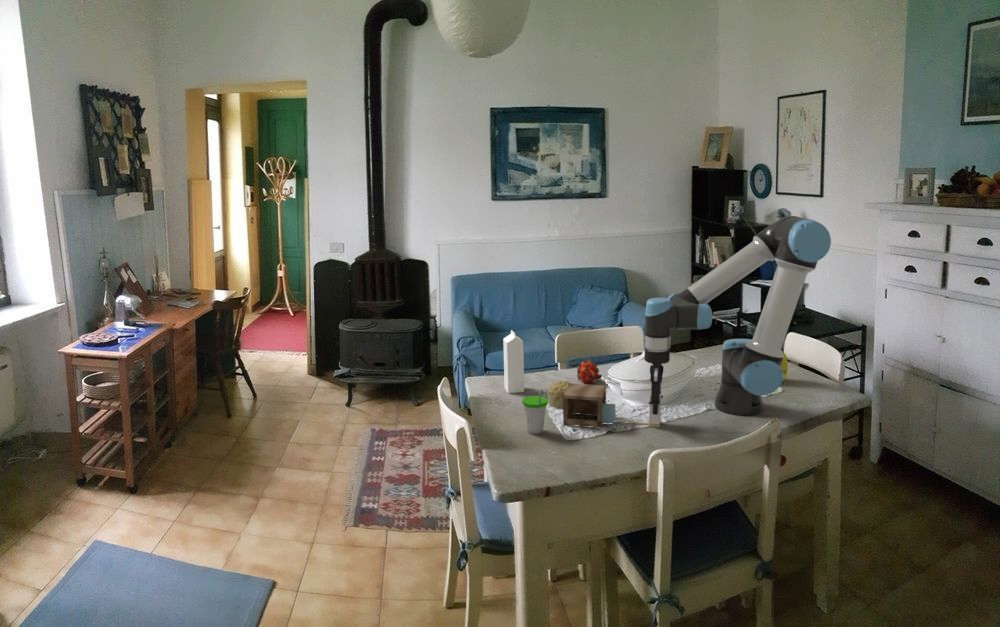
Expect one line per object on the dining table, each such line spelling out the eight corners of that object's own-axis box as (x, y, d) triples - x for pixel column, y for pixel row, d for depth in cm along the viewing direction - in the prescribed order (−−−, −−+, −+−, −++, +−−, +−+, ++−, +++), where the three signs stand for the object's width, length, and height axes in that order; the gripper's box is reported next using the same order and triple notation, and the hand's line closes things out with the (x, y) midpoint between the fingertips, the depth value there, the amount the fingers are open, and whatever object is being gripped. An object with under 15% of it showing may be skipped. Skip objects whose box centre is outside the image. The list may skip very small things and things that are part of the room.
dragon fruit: (585, 380, 266) (593, 394, 255) (568, 369, 263) (575, 384, 252) (599, 363, 264) (607, 377, 253) (581, 352, 261) (590, 366, 250)
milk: (520, 386, 256) (519, 328, 251) (524, 392, 250) (523, 332, 245) (504, 388, 254) (503, 330, 249) (507, 393, 249) (506, 334, 244)
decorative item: (562, 419, 234) (580, 397, 231) (539, 401, 234) (557, 379, 231) (565, 409, 243) (582, 388, 240) (543, 392, 243) (560, 371, 240)
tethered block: (660, 422, 220) (661, 392, 217) (659, 428, 215) (660, 397, 213) (599, 417, 225) (600, 388, 222) (597, 423, 220) (598, 393, 218)
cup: (522, 426, 219) (521, 381, 215) (547, 426, 218) (547, 381, 215) (522, 437, 211) (521, 390, 208) (548, 436, 211) (548, 390, 207)
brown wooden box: (605, 414, 227) (606, 385, 225) (601, 428, 216) (601, 397, 214) (569, 412, 230) (569, 383, 228) (563, 425, 219) (563, 395, 217)
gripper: (646, 341, 220) (644, 410, 226) (642, 355, 205) (641, 430, 211) (670, 342, 219) (668, 412, 224) (669, 357, 203) (666, 431, 209)
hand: (655, 420), depth 217 cm, fingers closed on tethered block, 3 cm apart
